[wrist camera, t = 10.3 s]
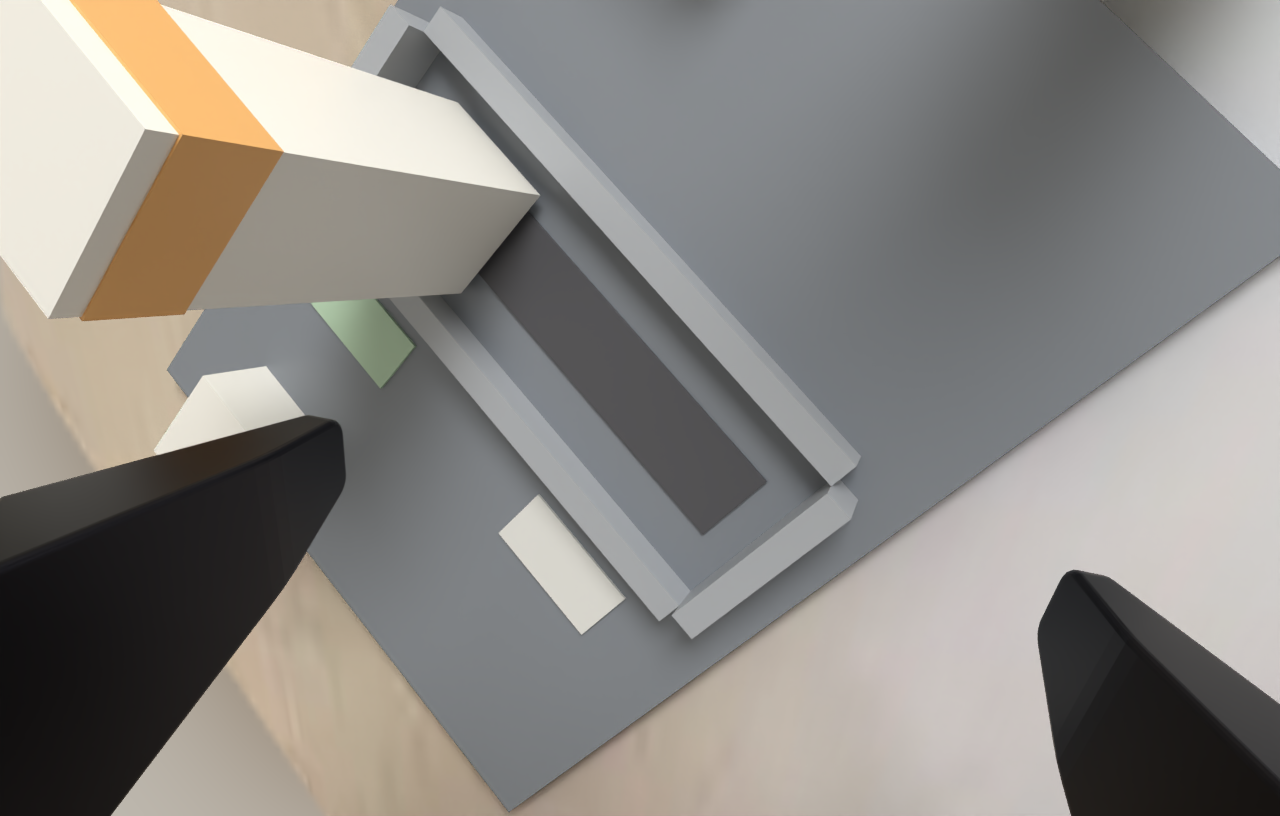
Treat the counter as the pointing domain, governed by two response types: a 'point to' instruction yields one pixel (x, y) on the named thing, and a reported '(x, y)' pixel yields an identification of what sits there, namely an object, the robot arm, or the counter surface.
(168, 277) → the handle
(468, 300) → the panel
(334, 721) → the counter surface
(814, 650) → the counter surface
